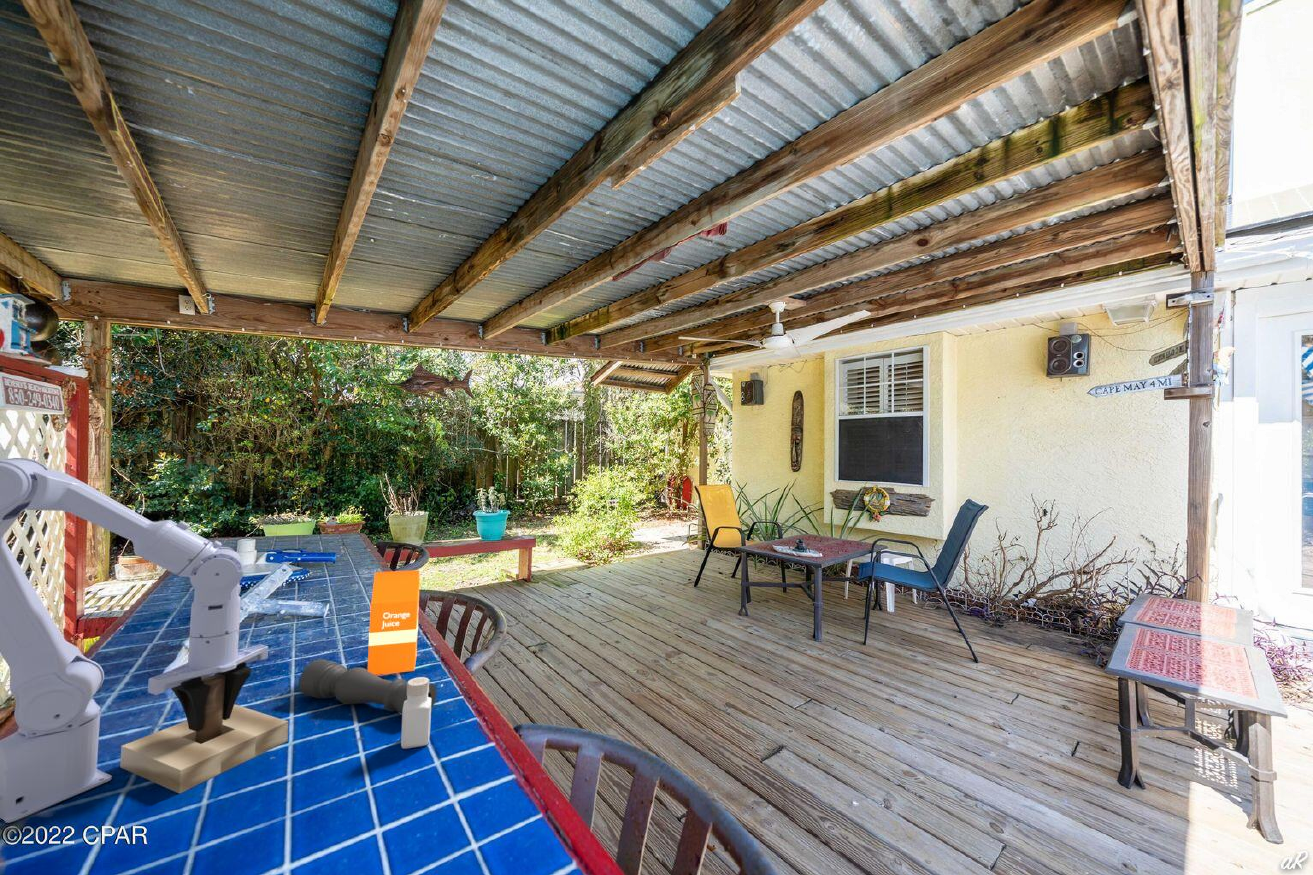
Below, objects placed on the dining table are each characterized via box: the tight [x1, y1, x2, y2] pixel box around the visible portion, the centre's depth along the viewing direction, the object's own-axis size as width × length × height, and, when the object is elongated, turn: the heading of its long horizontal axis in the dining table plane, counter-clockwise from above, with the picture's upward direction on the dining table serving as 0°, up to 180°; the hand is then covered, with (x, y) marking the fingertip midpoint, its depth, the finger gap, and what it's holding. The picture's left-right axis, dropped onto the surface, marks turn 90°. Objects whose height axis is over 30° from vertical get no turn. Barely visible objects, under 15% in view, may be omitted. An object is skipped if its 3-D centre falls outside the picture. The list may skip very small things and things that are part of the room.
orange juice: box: [367, 569, 420, 676], centre depth 112 cm, size 8×9×20 cm
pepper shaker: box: [400, 676, 432, 749], centre depth 84 cm, size 4×4×10 cm
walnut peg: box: [196, 674, 225, 744], centre depth 79 cm, size 3×3×10 cm
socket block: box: [119, 703, 289, 794], centre depth 79 cm, size 14×14×3 cm
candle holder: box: [298, 658, 438, 716], centre depth 95 cm, size 6×6×25 cm
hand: (209, 723), depth 79 cm, fingers closed on walnut peg, 3 cm apart
